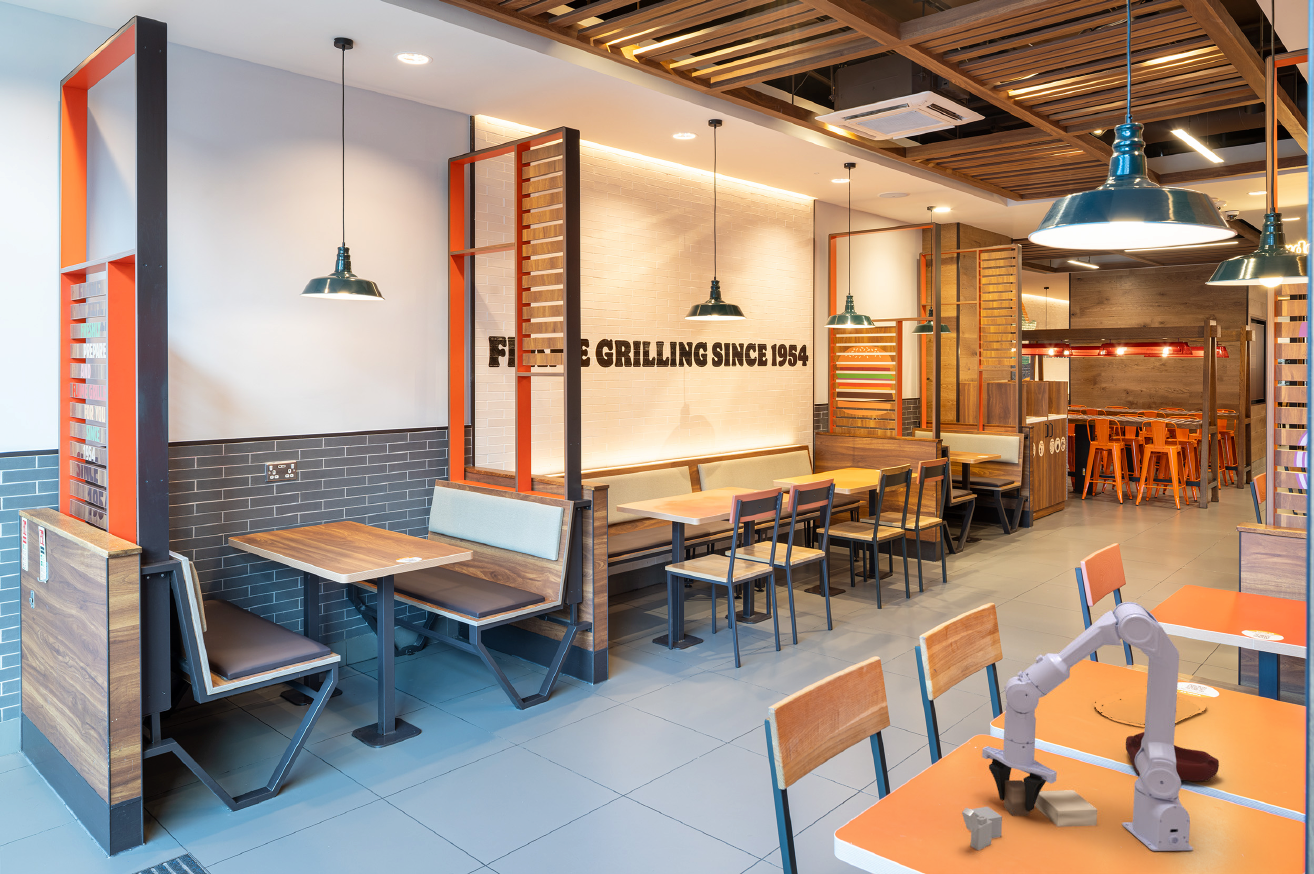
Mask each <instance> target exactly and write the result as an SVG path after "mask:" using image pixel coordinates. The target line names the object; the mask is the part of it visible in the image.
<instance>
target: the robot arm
mask: <svg viewBox="0 0 1314 874" xmlns="http://www.w3.org/2000/svg"><path fill="white" fill-rule="evenodd" d="M1121 640H1123V641H1124V642H1125V643H1126V644H1128V645H1130V646H1132V647H1134V648H1137V649H1139V650H1140V651H1141V652H1142V653H1143V654H1145V656H1147V658H1148V664H1147V665H1148V666H1147V680H1146V681H1147V682H1146V683H1147V685H1146V687H1147V693H1146V701H1145V715H1144V717H1145V719H1144V724H1145V728H1144V731H1143V732H1144V736H1143V738H1142V741H1141V748H1140V750H1139V751H1138V753H1137V754H1136V756H1135V765H1136V768H1137V769H1138V771H1139V773H1140V775H1138V778H1136V780H1135V782H1134V791H1133V792H1134V793H1133V808H1132V810H1133V811H1132V814H1133V815H1132V821H1131V822H1130V821H1129V822H1122V823H1121V824H1122V826H1123V827H1124V828H1125V829H1127V831H1128V832H1129V833H1131V834H1132V835H1133V836H1134V837H1135V838H1136V839H1138V840H1139V841H1141V842H1140V843H1142V844H1144V845H1145V846H1146V847H1147V848H1149V849H1150V850H1151V851H1153V852H1162V851H1163V852H1167V851H1169V852H1171V851H1174V852H1175V851H1193V850H1194V847H1193V846H1192V845H1190V844H1189V843H1190V842H1189V841H1190V827H1191V826H1190V825H1191V822H1190V821H1191V819H1190V814H1189V812H1188V810H1187V809H1186V808H1185V807H1184V806H1183V805H1182V803H1181V801H1180V795H1179V793H1180V791H1181V787H1182V780H1180V777H1179V775H1178V773H1177V771H1176V756H1175V750H1174V745H1175V731H1176V728H1175V727H1176V724H1175V721H1176V718H1177V717H1176V714H1177V699H1178V697H1177V691H1178V685H1179V684H1178V683H1179V681H1178V680H1179V667H1180V653H1179V650H1178V648H1177V647H1176V646H1175V644H1174V642H1173V641H1172V640H1171V638H1170V637H1169V636H1168V634H1167V632H1166V631H1165V629H1164V628H1163V627H1162V625H1161V624H1160V623H1159V621H1158V620H1157V618H1156V617H1155V616H1154V615H1153V614H1152V613H1151V612H1150V611H1148V610H1147V609H1146V608H1145V607H1143V606H1142V605H1140V604H1138V602H1133V601H1125V602H1122V603H1119V604H1117V605H1116V607H1114V609H1113V611H1112V610H1109V611H1107V612H1106V613H1104V614H1103V615H1102V616H1100V617H1099V618H1098V619H1097V620H1096V621H1095V622H1094V623H1092V624H1091V625H1090V626H1089V627H1088V628H1087V629H1085V630H1084V631H1083V632H1082V633H1081V634H1079V635H1078V636H1077V637H1076V638H1075V639H1073V640H1072V641H1071V642H1070V643H1069V644H1068V645H1067V646H1065V647H1064V648H1063V649H1062V650H1060V652H1058V653H1051V652H1049V653H1048V652H1047V653H1046V654H1045V655H1042V654H1039V655H1038V656H1036V657H1035V661H1036V662H1034V663H1032V664H1031V665H1030V666H1029V667H1027V668H1026V669H1025V670H1024V671H1022V670H1020V671H1018V672H1017V674H1016V676H1013V677H1011V678H1009V679H1008V680H1007V682H1006V685H1005V686H1004V691H1005V692H1004V693H1005V699H1006V704H1005V712H1004V727H1003V731H1004V732H1003V749H999V748H995V747H991V746H989V745H988V746H984V747H983V748H982V753H981V756H982V758H983V759H986V760H989V759H990V760H991V761H992V762H991V763H989V764H988V770H989V771H990V773H991V775H992V777H993V779H994V781H995V782H994V783H995V785H996V788H997V792H998V797H999V800H1000V801H1001V802H1004V792H1005V780H1011V779H1010V777H1011V771H1012V769H1015V770H1018V771H1021V772H1024V773H1025V774H1029V775H1028V776H1025V777H1023V780H1022V781H1023V782H1024V785H1025V792H1026V801H1025V809H1026V811H1028V812H1029V813H1030V812H1032V811H1033V810H1035V808H1036V807H1035V803H1036V800H1037V797H1038V795H1039V792H1040V791H1041V790H1042V789H1043V787H1044V785H1045V784H1046V783H1049V784H1053V783H1055V782H1057V774H1058V773H1057V772H1058V771H1056V770H1054V769H1052V768H1050V767H1047V766H1046V765H1045V764H1042V763H1041V762H1039V761H1037V760H1035V752H1036V751H1035V749H1036V745H1035V744H1036V723H1037V719H1036V716H1035V713H1036V709H1037V707H1038V705H1039V702H1040V698H1044V697H1045V696H1047V695H1048V694H1049V693H1051V692H1053V690H1055V689H1056V688H1057V687H1059V686H1060V685H1061V684H1063V683H1064V682H1065V681H1066V680H1067V679H1070V676H1071V674H1070V673H1071V669H1072V667H1074V666H1076V665H1077V664H1078V663H1080V662H1081V661H1083V660H1084V659H1086V658H1087V657H1089V656H1090V655H1092V654H1093V653H1095V651H1097V650H1099V649H1101V648H1102V647H1104V646H1116V647H1117V646H1120V647H1121V646H1123V645H1122V644H1123V643H1122V642H1121Z"/></svg>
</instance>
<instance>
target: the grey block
mask: <svg viewBox="0 0 1314 874" xmlns="http://www.w3.org/2000/svg"><path fill="white" fill-rule="evenodd" d="M970 809H971V810H973V811H974V812H975V816H976V818H977V817H979V816H981V815H982V816H986V817H987V819H988V820H990V821H992V834H991V840H992V839H996V838H1002V827H1003V826H1002V825H1003V816H1002V815H1000V814H999V813H998V812H996V811H994V810H993V808H991V807H989V806H984V807H977V808H970Z"/></svg>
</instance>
